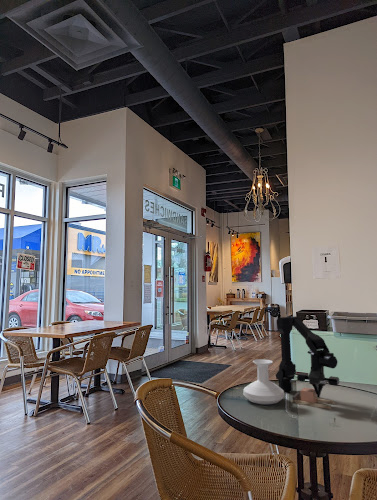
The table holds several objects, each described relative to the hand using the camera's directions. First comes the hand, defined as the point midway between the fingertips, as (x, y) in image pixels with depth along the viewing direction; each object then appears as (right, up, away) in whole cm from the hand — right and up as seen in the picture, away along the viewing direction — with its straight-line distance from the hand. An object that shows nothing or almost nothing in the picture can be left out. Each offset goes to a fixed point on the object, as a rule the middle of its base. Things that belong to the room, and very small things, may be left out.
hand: (318, 397), depth 175 cm
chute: (-2, -4, +1) cm, 4 cm away
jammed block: (-4, -4, +2) cm, 6 cm away
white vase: (-25, -5, +6) cm, 26 cm away
